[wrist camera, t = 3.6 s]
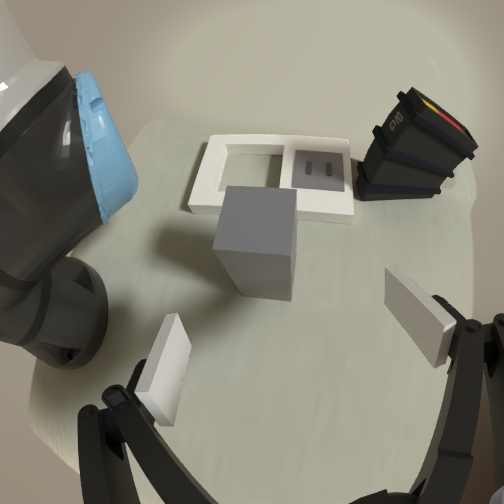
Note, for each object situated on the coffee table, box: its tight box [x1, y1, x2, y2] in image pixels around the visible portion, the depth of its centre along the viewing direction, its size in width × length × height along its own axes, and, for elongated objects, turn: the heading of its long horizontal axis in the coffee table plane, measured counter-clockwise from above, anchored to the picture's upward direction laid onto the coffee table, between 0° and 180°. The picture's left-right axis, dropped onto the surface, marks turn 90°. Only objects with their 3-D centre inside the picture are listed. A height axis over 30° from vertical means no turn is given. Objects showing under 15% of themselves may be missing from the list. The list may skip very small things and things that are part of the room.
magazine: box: [356, 87, 478, 201], centre depth 26 cm, size 4×13×15 cm, turn 93°
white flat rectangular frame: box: [188, 134, 354, 224], centre depth 33 cm, size 19×12×2 cm, turn 82°
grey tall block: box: [212, 186, 297, 301], centre depth 24 cm, size 5×5×12 cm
